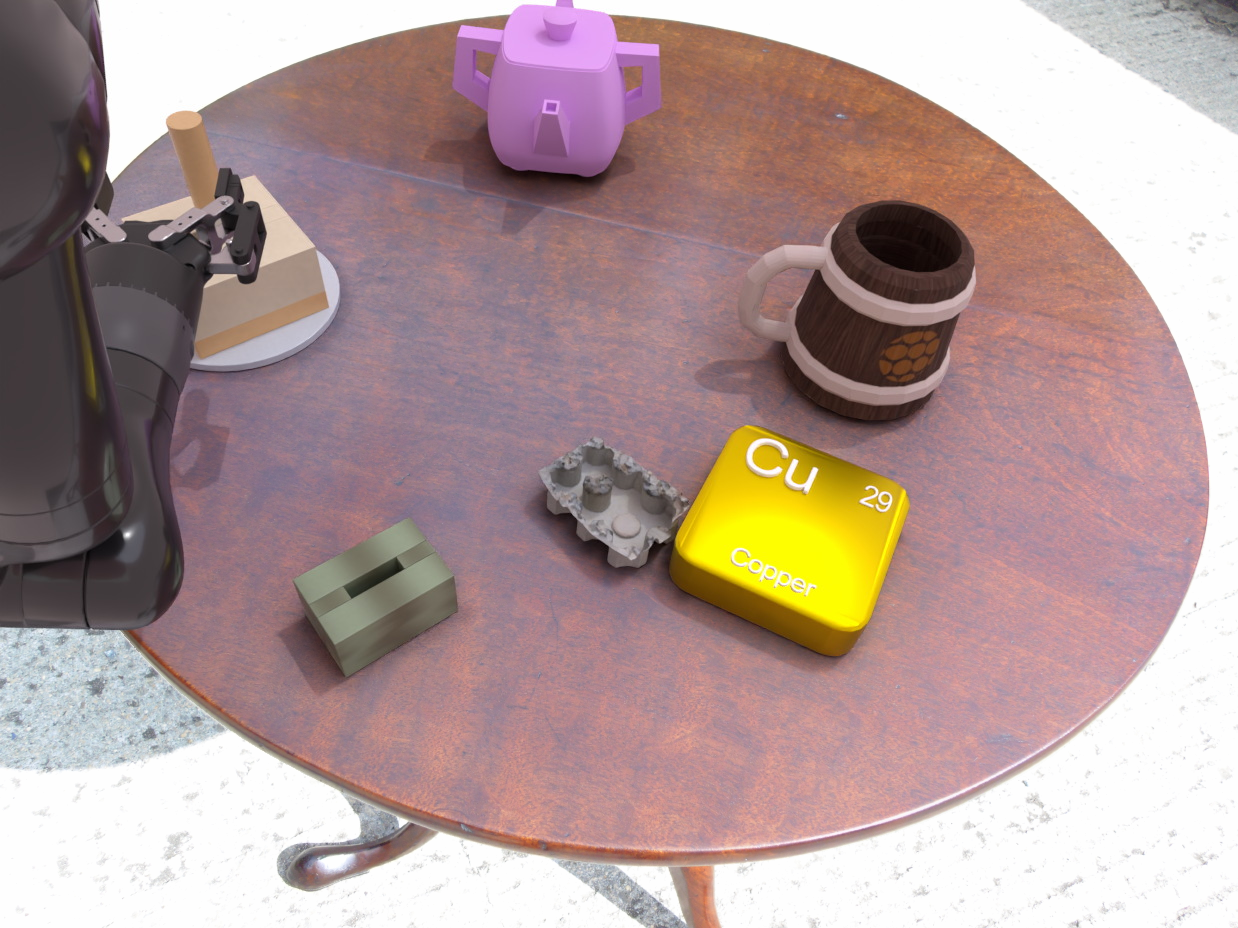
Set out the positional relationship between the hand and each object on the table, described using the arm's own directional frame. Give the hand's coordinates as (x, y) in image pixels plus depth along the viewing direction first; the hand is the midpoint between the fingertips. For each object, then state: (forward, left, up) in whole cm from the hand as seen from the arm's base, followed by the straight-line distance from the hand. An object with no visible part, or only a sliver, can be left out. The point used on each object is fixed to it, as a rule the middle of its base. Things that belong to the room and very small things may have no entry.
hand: (167, 178), depth 67 cm
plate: (-1, +7, -18) cm, 19 cm away
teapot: (+26, +36, -18) cm, 48 cm away
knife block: (+18, -24, -18) cm, 35 cm away
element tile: (+48, -16, -18) cm, 54 cm away
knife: (-1, +7, -15) cm, 16 cm away
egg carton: (+34, -14, -18) cm, 41 cm away
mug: (+54, +5, -18) cm, 57 cm away
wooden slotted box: (-1, +7, -18) cm, 19 cm away
